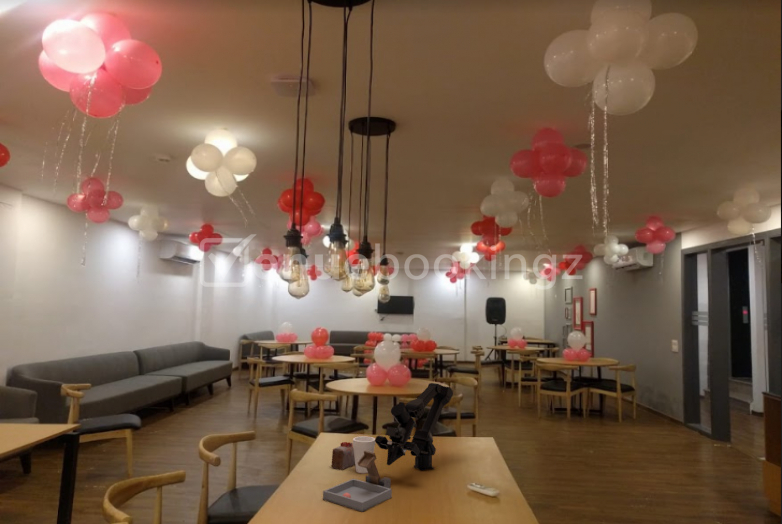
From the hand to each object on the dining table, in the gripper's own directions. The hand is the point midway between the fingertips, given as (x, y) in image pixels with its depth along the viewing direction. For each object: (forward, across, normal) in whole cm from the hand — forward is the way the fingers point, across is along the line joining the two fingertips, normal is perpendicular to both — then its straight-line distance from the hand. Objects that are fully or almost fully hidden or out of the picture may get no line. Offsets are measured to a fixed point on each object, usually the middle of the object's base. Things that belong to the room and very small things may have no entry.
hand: (388, 464), depth 207 cm
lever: (+10, 0, 0) cm, 10 cm away
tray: (+18, 0, -8) cm, 20 cm away
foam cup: (0, -18, +11) cm, 21 cm away
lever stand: (+10, 0, +1) cm, 10 cm away
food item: (0, -28, +12) cm, 31 cm away
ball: (+21, 0, -14) cm, 25 cm away
